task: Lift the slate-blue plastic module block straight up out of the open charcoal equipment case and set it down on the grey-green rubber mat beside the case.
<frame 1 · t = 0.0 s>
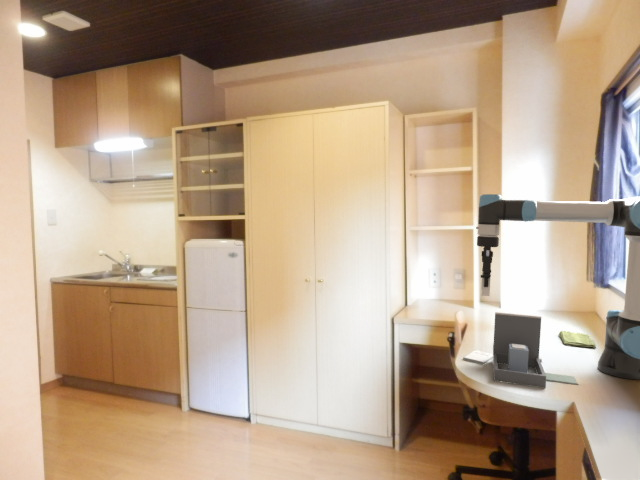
hand: (485, 292, 169), 28 cm above the table, fingers open, 13 cm apart
case: (517, 374, 162), on the table
mat: (560, 378, 159), on the table
module: (517, 374, 162), resting in case
external hard drive: (478, 360, 179), on the table
washcloth: (576, 343, 205), on the table
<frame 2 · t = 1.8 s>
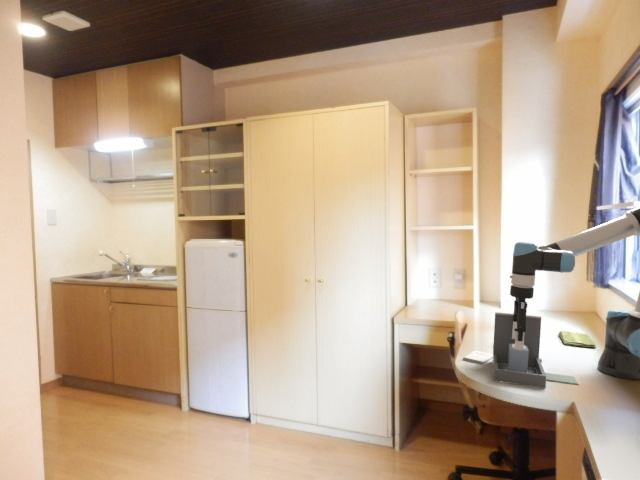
hand: (517, 344, 161), 11 cm above the table, fingers open, 13 cm apart
nothing on the table moved.
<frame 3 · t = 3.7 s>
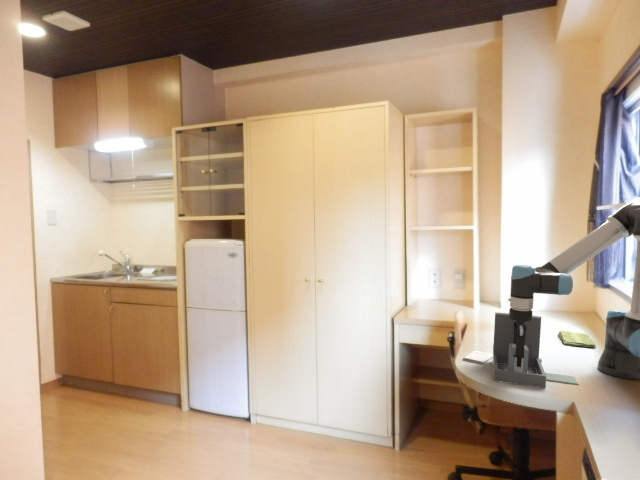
hand: (517, 371, 162), 1 cm above the table, fingers closed on module, 6 cm apart
module: (517, 374, 162), resting in case, touching gripper
everything else where it was.
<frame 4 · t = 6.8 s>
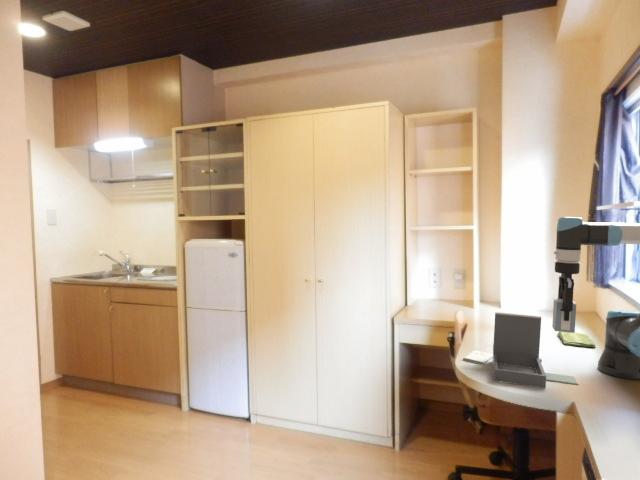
hand: (563, 327, 157), 19 cm above the table, fingers closed on module, 6 cm apart
module: (563, 329, 157), point 18 cm above the table, touching gripper
everything else where it was.
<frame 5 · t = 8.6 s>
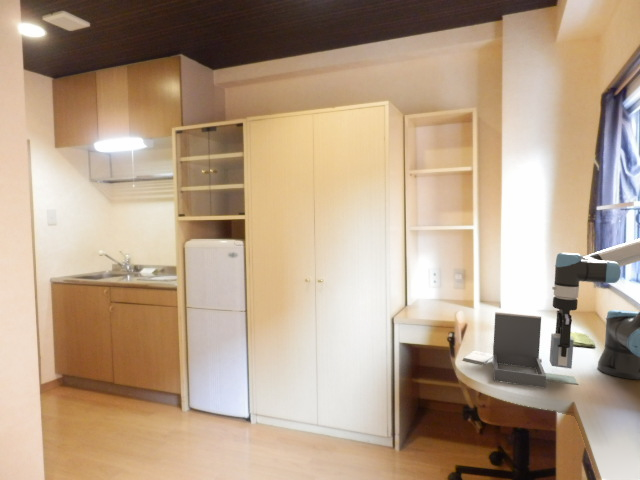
hand: (560, 362, 158), 6 cm above the table, fingers closed on module, 6 cm apart
module: (560, 364, 158), point 5 cm above the table, touching gripper
everything else where it was.
when the fingers open (2 cm above the table, at t = 10.0 s): module drops 1 cm, resting on mat.
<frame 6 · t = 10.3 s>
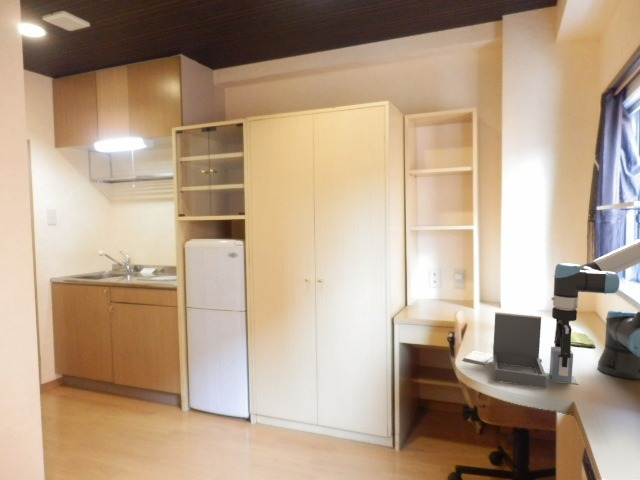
hand: (560, 370, 158), 3 cm above the table, fingers open, 9 cm apart
module: (560, 377, 159), resting on mat
everything else where it was.
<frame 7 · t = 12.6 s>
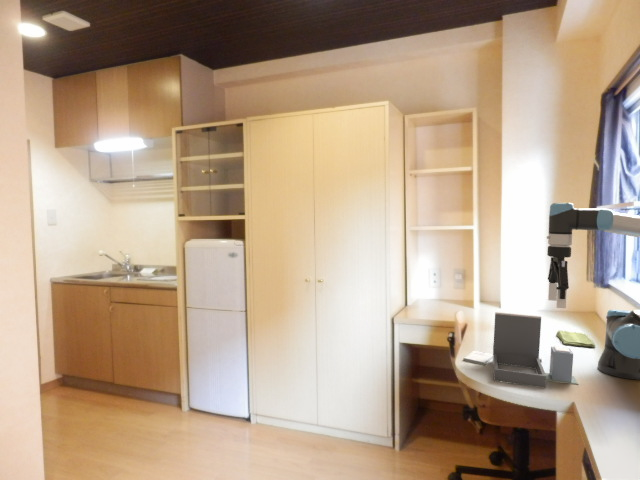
hand: (556, 304, 163), 25 cm above the table, fingers open, 13 cm apart
nothing on the table moved.
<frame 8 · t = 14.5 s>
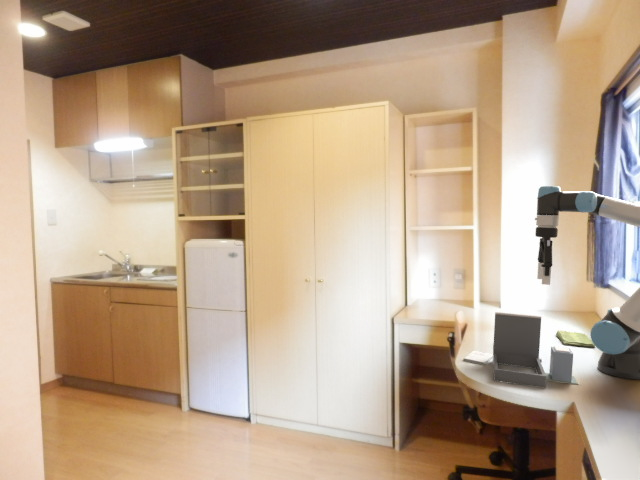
hand: (543, 281, 174), 32 cm above the table, fingers open, 13 cm apart
nothing on the table moved.
at the end: module inside the target area (0.0 cm from its centre), resting on mat; module touching mat; the gripper is holding nothing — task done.
